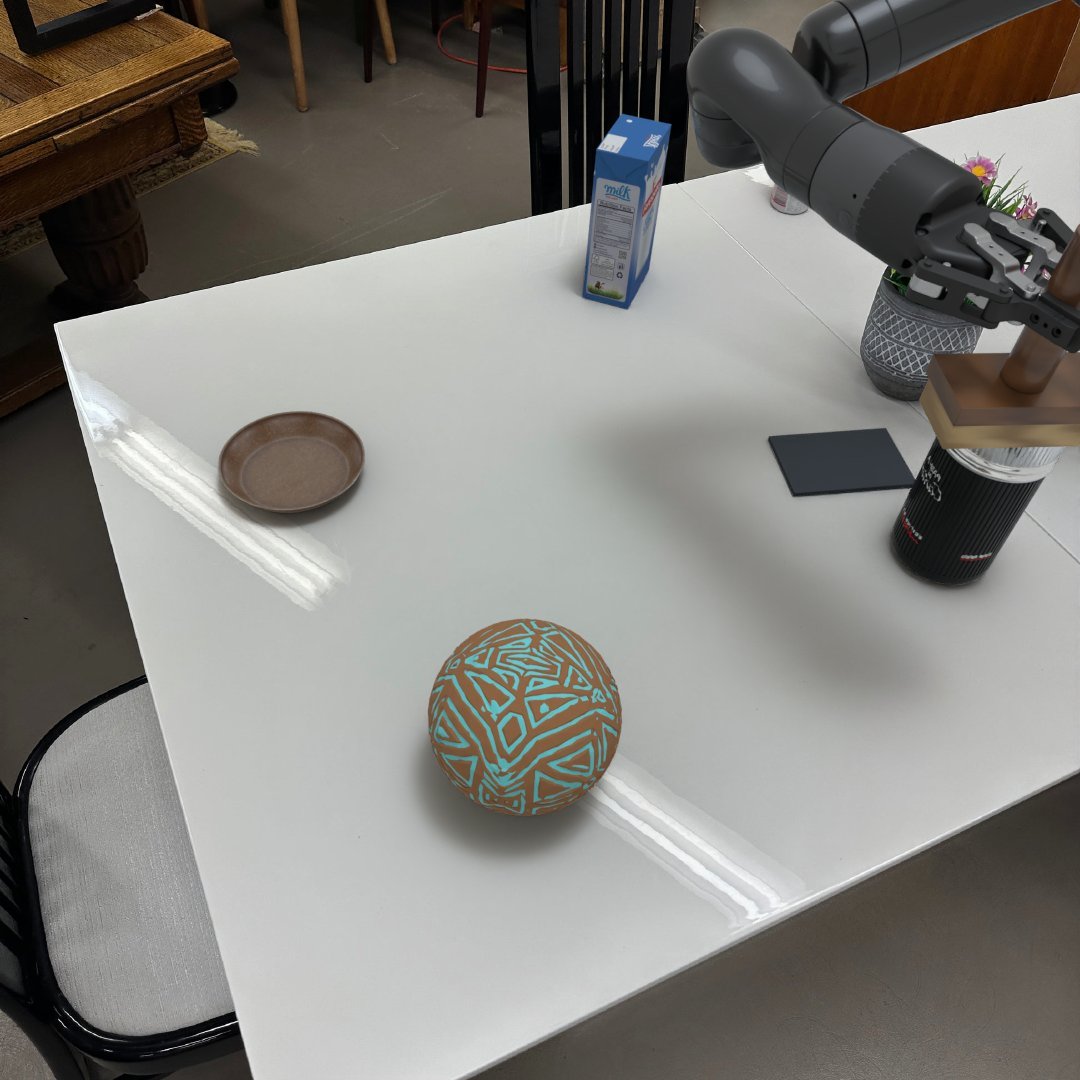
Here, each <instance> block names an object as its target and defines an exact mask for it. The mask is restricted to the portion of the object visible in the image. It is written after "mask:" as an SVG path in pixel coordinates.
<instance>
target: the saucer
mask: <svg viewBox="0 0 1080 1080" xmlns="http://www.w3.org/2000/svg"><path fill="white" fill-rule="evenodd" d="M365 461H366V451H365V446H364V443H363V440H362V439H361V437H360V436H359V434H358V433H357V432H356V431H355V430H354V429H353V427H351V426H350V425H348V424H347V423H346V422H344V421H343V420H340V419H338V418H336V417H334V416H331V415H328V414H325V413H322V412H316V411H309V410H296V411H295V410H293V411H284V412H277V413H273V414H268V415H265V416H262V417H259V418H258V419H256V420H253V421H251V422H249V423H247V424H246V425H244V426H243V427H241V428H240V429H237V431H236V432H235V433H234V434H232V435H231V436H230V437H229V438H228V440H227V441H226V442H225V443H224V445H223V447H222V449H221V451H220V454H219V456H218V462H217V472H218V477H219V478H220V481H221V483H222V484H223V486H224V487H225V488H226V490H227V491H228V492H229V493H230V494H231V495H232V496H233V497H235V498H236V499H238V500H240V501H241V502H243V503H245V504H247V505H250V506H251V507H254V508H257V509H260V510H263V511H267V512H273V513H279V514H280V513H282V514H283V513H284V514H289V513H290V514H293V513H302V512H307V511H311V510H315V509H318V508H320V507H323V506H325V505H327V504H329V503H331V502H333V501H334V500H337V498H339V497H341V496H342V495H343V494H344V493H345V492H347V491H348V490H349V489H350V488H351V487H352V486H353V485H354V484H355V482H356V481H357V480H358V479H359V477H360V475H361V473H362V471H363V469H364V465H365Z"/></svg>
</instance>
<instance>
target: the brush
mask: <svg viewBox="0 0 1080 1080" xmlns="http://www.w3.org/2000/svg"><path fill="white" fill-rule="evenodd" d="M1073 232H1074V233H1073V235H1072V237H1071V239H1070V241H1069V243H1068V245H1067V247H1066V249H1065V250H1064V252H1063V254H1062V256H1061V258H1060V260H1059V262H1058V264H1057V266H1056V267H1055V269H1054V271H1053V273H1052V275H1050V277H1049V279H1048V280H1049V281H1048V283H1047V284H1046V286H1045V288H1044V290H1043V292H1042V294H1043V293H1045V292H1047V291H1048V292H1050V293H1051V294H1053V295H1054V296H1056V297H1057V298H1059V299H1061V300H1063V301H1064V302H1066V303H1068V304H1069V305H1071V306H1072V307H1074V308H1076V309H1077V310H1079V311H1080V223H1079V224H1077V226H1076V227H1075V229H1074V231H1073ZM925 375H926V376H927V378H928V379H927V381H926V383H925V386H924V388H923V390H922V393H921V395H920V397H919V399H918V402H919V404H920V406H921V408H922V409H923V412H924V414H925V416H926V418H927V420H928V422H929V424H930V426H931V428H932V430H933V432H934V434H935V437H936V436H937V438H938V440H939V443H940V445H941V447H942V449H972V448H1021V447H1064V448H1066V447H1080V351H1078V352H1076V353H1069V352H1068V351H1066V350H1065V349H1063V348H1061V347H1060V346H1057V345H1055V344H1054V343H1052V342H1050V341H1049V339H1046V338H1044V337H1043V336H1041V335H1040V334H1038V333H1037V332H1035V331H1034V330H1032V329H1030V328H1029V327H1027V326H1026V325H1023V328H1022V330H1021V332H1020V334H1019V336H1018V337H1017V339H1016V341H1015V343H1014V345H1013V346H1012V348H1011V351H1010V352H968V353H967V352H960V353H959V352H958V353H933V354H932V356H931V358H930V360H929V362H928V365H927V367H926V368H925Z"/></svg>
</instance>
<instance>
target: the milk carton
mask: <svg viewBox="0 0 1080 1080" xmlns="http://www.w3.org/2000/svg"><path fill="white" fill-rule="evenodd" d="M671 130H672V124H671V123H666V122H662V121H657V120H652V119H648V118H643V117H638V116H634V115H629V114H625V113H621V114H620V115H619V117H618V118H617V120H616V121H615V123H614V124H613V125H612V127H611V128H610V130H609V131H608V132H607V134H606V135H605V137H604V138H603V139H602V141H601V142H600V144H599V145H598V146H597V148H595V149H596V151H595V160H594V172H593V179H592V180H593V181H592V182H593V183H592V191H591V194H592V195H591V202H590V213H589V225H588V232H587V245H586V255H585V264H584V265H585V266H584V273H583V274H584V276H583V287H582V299H585V300H589V301H595V302H598V303H601V304H604V305H605V304H606V305H610V306H614V307H617V308H622V309H625V310H629V308H630V307H631V304H632V303H633V301H634V299H635V297H636V295H637V293H638V291H639V290H640V288H641V286H642V284H643V282H644V280H645V278H646V277H647V275H648V273H649V271H650V267H651V260H652V253H653V246H654V240H655V234H656V227H657V221H658V220H657V219H658V214H659V207H660V200H661V194H662V187H663V183H664V182H663V181H664V176H665V168H666V161H667V155H668V149H669V142H670V135H671Z"/></svg>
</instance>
